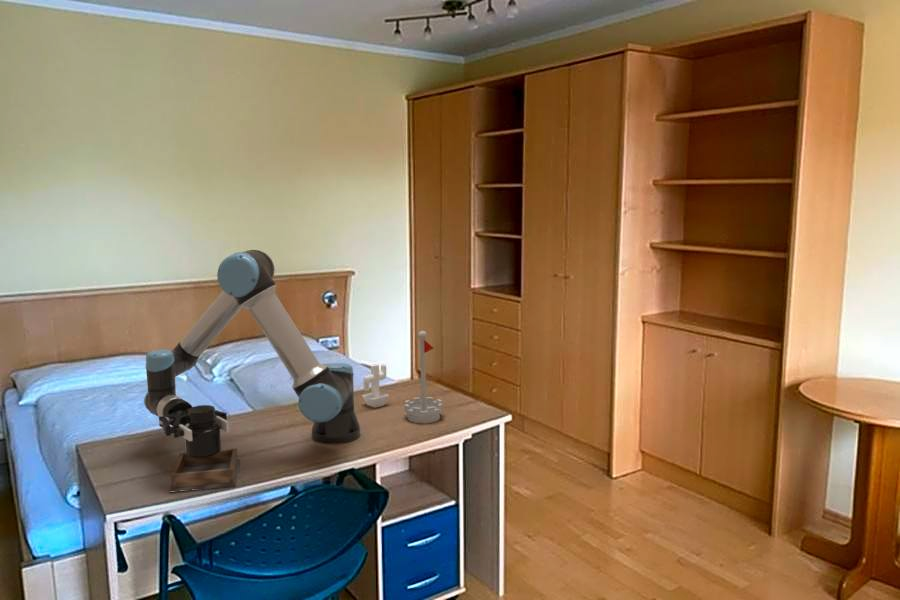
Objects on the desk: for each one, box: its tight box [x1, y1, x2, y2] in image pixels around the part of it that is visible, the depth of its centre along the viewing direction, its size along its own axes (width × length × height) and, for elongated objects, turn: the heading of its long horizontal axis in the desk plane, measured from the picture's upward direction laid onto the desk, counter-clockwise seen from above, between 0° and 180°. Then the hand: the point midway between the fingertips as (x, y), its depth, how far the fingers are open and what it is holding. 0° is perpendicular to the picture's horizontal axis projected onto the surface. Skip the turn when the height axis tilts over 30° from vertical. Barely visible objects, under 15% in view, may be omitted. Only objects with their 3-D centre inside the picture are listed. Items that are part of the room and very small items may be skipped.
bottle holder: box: [169, 448, 241, 492], centre depth 178 cm, size 16×16×4 cm
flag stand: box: [403, 330, 444, 424], centre depth 223 cm, size 13×13×30 cm
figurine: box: [361, 363, 390, 408], centre depth 239 cm, size 7×9×15 cm
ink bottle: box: [184, 404, 222, 458], centre depth 177 cm, size 10×9×12 cm
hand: (209, 431), depth 173 cm, fingers closed on ink bottle, 9 cm apart
